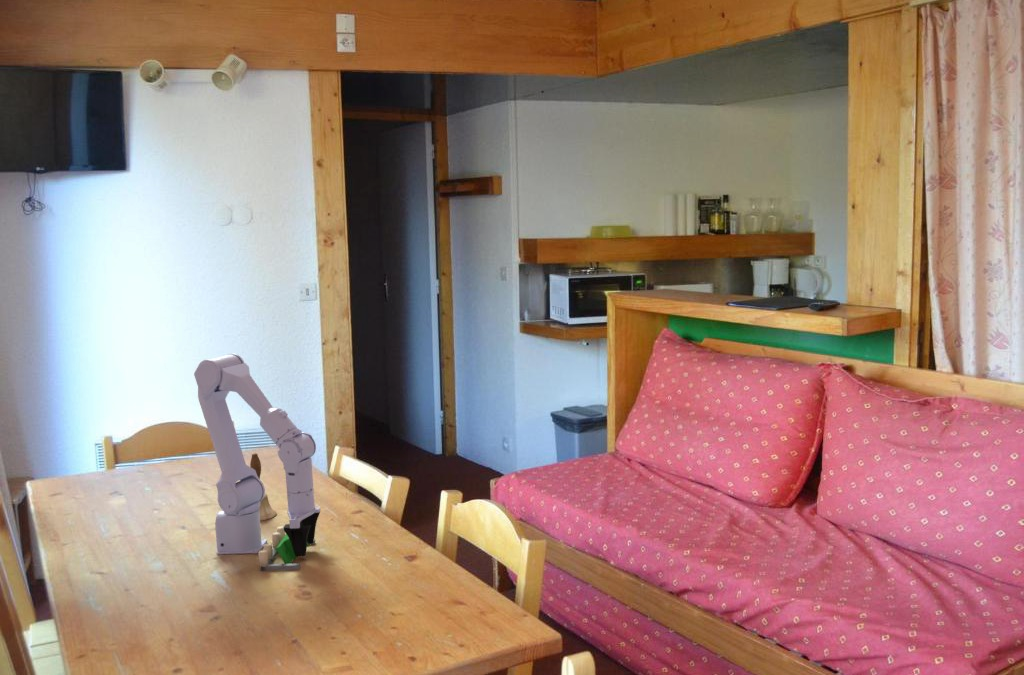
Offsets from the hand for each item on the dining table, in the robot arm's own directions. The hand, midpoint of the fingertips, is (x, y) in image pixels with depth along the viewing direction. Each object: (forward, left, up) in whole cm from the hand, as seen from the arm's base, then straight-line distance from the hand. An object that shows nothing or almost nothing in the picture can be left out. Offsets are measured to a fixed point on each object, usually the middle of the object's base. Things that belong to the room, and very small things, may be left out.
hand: (304, 549), depth 213 cm
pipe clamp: (-1, 0, -1) cm, 2 cm away
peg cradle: (-3, 0, -2) cm, 3 cm away
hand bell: (-18, +29, -2) cm, 34 cm away
